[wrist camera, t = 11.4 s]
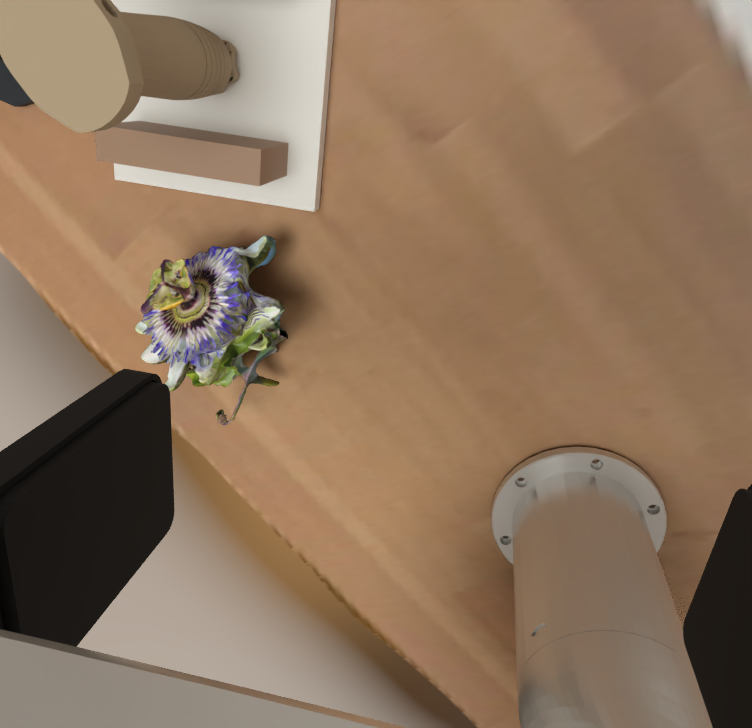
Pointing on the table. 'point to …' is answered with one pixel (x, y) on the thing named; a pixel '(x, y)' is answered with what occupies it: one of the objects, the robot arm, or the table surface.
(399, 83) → the table surface
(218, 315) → the passion flower
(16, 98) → the gun turret
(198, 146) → the white base with blocks
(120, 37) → the handle
